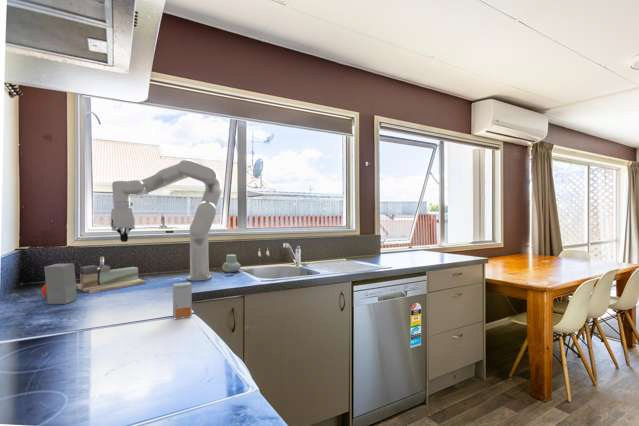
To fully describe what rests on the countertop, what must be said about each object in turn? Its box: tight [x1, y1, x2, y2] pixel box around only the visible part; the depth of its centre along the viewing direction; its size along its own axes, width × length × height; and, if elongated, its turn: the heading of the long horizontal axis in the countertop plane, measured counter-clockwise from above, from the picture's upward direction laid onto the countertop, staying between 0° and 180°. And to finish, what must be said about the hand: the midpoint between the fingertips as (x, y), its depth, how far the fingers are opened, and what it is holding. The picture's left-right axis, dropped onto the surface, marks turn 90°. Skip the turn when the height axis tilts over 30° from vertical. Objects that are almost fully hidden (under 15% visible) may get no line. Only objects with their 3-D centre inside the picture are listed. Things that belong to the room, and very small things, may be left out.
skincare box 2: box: [172, 281, 193, 319], centre depth 126 cm, size 6×4×12 cm
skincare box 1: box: [43, 262, 78, 305], centre depth 145 cm, size 8×7×16 cm
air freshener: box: [221, 253, 242, 274], centre depth 212 cm, size 11×8×10 cm
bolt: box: [97, 256, 105, 272], centre depth 169 cm, size 2×10×7 cm, turn 142°
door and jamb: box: [76, 264, 146, 294], centre depth 175 cm, size 18×25×11 cm
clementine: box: [41, 283, 47, 298], centre depth 152 cm, size 8×7×7 cm
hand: (124, 241), depth 179 cm, fingers closed
